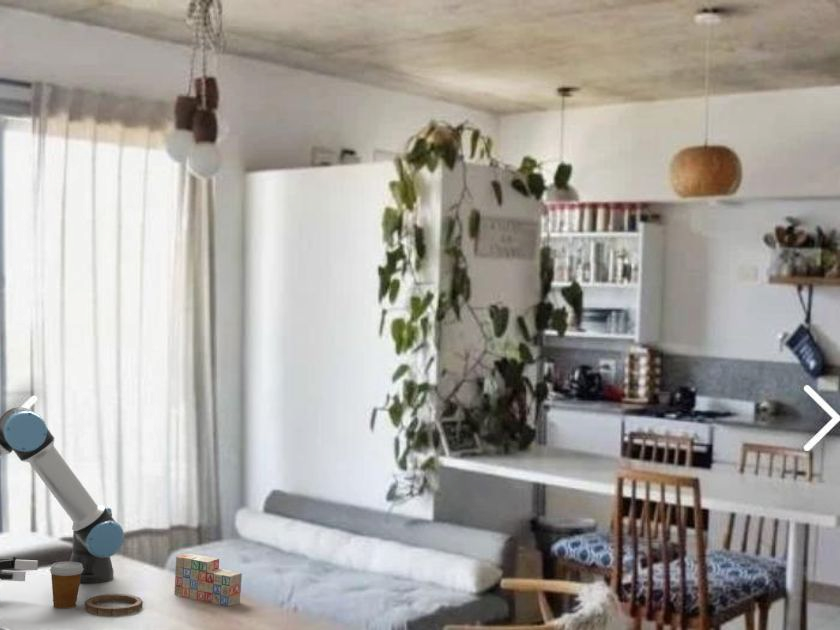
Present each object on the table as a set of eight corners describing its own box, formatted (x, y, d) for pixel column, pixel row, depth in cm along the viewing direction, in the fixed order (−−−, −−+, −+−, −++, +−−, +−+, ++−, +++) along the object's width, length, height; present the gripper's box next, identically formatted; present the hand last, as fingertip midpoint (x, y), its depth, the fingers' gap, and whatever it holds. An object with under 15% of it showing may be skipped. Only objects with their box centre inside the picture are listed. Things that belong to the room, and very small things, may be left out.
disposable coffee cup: (70, 611, 302) (73, 570, 302) (41, 607, 304) (43, 566, 304) (87, 603, 312) (90, 563, 312) (58, 599, 314) (61, 559, 314)
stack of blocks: (240, 602, 322) (243, 563, 322) (228, 607, 317) (230, 566, 317) (186, 591, 332) (189, 552, 332) (173, 595, 327) (175, 555, 327)
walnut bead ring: (116, 597, 319) (116, 591, 319) (152, 607, 311) (153, 601, 311) (73, 608, 306) (74, 601, 306) (111, 618, 297) (111, 611, 297)
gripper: (-31, 570, 317) (41, 573, 319) (-60, 590, 292) (18, 594, 294) (-29, 545, 317) (43, 548, 319) (-58, 564, 292) (20, 567, 295)
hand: (31, 570), depth 307 cm, fingers open, 13 cm apart
